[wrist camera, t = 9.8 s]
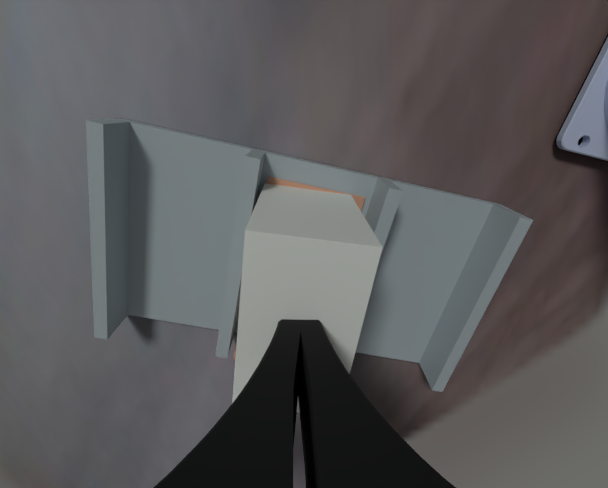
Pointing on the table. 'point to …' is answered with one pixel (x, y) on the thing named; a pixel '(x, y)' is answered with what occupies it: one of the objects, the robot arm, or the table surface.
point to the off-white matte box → (303, 272)
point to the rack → (231, 231)
